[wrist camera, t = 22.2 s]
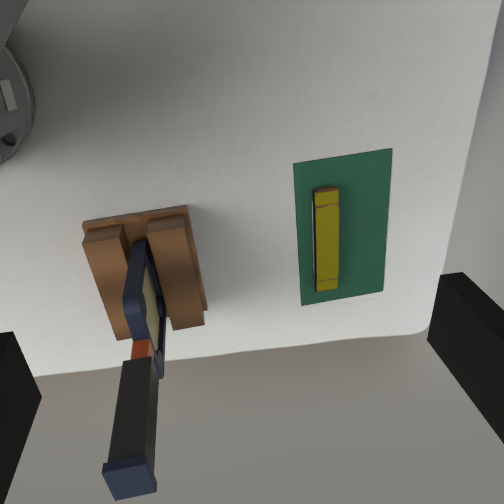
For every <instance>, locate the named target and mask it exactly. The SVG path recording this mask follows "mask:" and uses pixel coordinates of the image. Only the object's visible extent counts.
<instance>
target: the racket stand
mask: <svg viewBox="0 0 504 504" xmlns="http://www.w3.org/2000/svg"><path fill="white" fill-rule="evenodd" d="M82 228H83V231H84V233H85V237H84V240H83V242H82V246H83V249H84V251H85V254H86V257H87V260H88V262H89V265H90V268H91V271H92V273H93V276H94V279H95V282H96V284H97V287H98V290H99V293H100V296H101V298H102V301H103V304H104V307H105V309H106V312H107V315H108V318H109V320H110V323H111V326H112V329H113V331H114V334H115V337H116V340H117V341H118V340H124V339H129V338H132V336H131V333H130V330H129V328H128V325H127V322H126V319H125V316H124V312H123V306H122V295H123V290H124V285H125V280H126V274H127V269H128V264H129V259H130V253H131V248H132V243H133V242H136V241H143V240H148V242H149V245H150V249H151V252H152V256H153V260H154V264H155V267H156V271H157V275H158V279H159V282H160V286H161V290H162V294H163V297H164V301H165V307H166V318H167V317H170V321H171V324H172V328H173V331H174V330H180V329H185V328H191V327H196V326H202V325H205V322H204V311H206V310H208V309H207V302H206V297H205V292H204V287H203V282H202V277H201V272H200V267H199V262H198V257H197V253H196V248H195V243H194V238H193V233H192V228H191V223H190V218H189V213H188V208H187V205H183V206H177V207H171V208H165V209H158V210H152V211H146V212H140V213H133V214H127V215H121V216H114V217H108V218H102V219H96V220H89V221H84V222H83V224H82Z"/></svg>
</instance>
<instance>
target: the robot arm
mask: <svg viewBox="0 0 504 504" xmlns="http://www.w3.org/2000/svg"><path fill="white" fill-rule="evenodd" d="M27 2H28V0H0V164H1V163H3V162H5V161H6V160H7V159H9V158H10V157H11V156H12V155H13V154H14V153H15V152H16V151H18V150H19V148H20V147H21V146H22V145H23V144H24V142H25V140H26V139H27V137H28V135H29V133H30V130H31V127H32V124H33V119H34V97H33V92H32V87H31V84H30V81H29V78H28V76H27V73H26V71H25V69H24V67H23V65H22V63H21V61H20V60H19V58H18V57H17V55H16V54H15V52H14V51H13V49H12V48H11V47H10V46H9V44H8V43H7V40H8V38H9V36H10V34H11V32H12V30H13V29H14V27H15V25H16V23H17V21H18V19H19V17H20V15H21V13H22V11H23V10H24V8H25V6H26V4H27ZM427 341H428V342H429V343H430V345H431V346H432V348H433V349H434V350H435V352H436V353H437V354H438V356H439V357H440V358H441V360H442V361H443V362H444V364H445V365H446V366H447V368H448V369H449V370H450V372H451V373H452V374H453V376H454V377H455V379H456V380H457V381H458V383H459V384H460V385H461V387H462V388H463V389H464V391H465V392H466V393H467V395H468V396H469V397H470V399H471V400H472V402H473V403H474V404H475V406H476V407H477V408H478V410H479V411H480V412H481V414H482V415H483V416H484V418H485V419H486V420H487V422H488V423H489V424H490V426H491V427H492V429H493V430H494V431H495V433H496V434H497V435H498V436H499V438H500V439H501V441H502V442H503V443H504V310H503V309H502V308H500V307H499V306H498V305H497V304H496V303H495V302H494V301H493V300H492V299H491V298H490V297H489V296H488V295H487V294H486V293H485V292H483V291H482V290H481V289H480V288H479V287H478V286H477V285H476V284H475V283H474V282H473V281H472V280H471V279H469V277H467V276H466V275H465V274H464V273H463V272H460V273H451V274H444V275H440V278H439V283H438V288H437V293H436V298H435V303H434V308H433V312H432V317H431V322H430V327H429V332H428V337H427ZM41 398H42V396H41V394H40V391H39V389H38V387H37V385H36V383H35V380H34V378H33V376H32V373H31V371H30V369H29V367H28V364H27V362H26V360H25V358H24V355H23V353H22V351H21V348H20V346H19V344H18V342H17V339H16V337H15V335H14V333H13V331H12V332H5V333H0V504H4V502H5V499H6V496H7V494H8V490H9V488H10V485H11V482H12V480H13V477H14V474H15V471H16V468H17V465H18V463H19V460H20V457H21V454H22V451H23V449H24V446H25V443H26V440H27V437H28V435H29V431H30V429H31V426H32V423H33V420H34V417H35V415H36V412H37V409H38V406H39V404H40V401H41Z"/></svg>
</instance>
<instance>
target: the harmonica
mask: <svg viewBox="0 0 504 504" xmlns="http://www.w3.org/2000/svg"><path fill="white" fill-rule="evenodd" d="M312 197H313V201H312V229H313V267H314V279H315V292H322V291H328V290H334V289H338V266H339V204H338V202H339V189H338V188H337V187H336V186H332V187H325V188H318V189H313V192H312Z"/></svg>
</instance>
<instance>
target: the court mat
mask: <svg viewBox="0 0 504 504" xmlns="http://www.w3.org/2000/svg"><path fill="white" fill-rule="evenodd" d="M391 161H392V148H391V149H384V150H378V151H372V152H365V153H359V154H352V155H346V156H339V157H333V158H326V159H320V160H314V161H307V162H301V163H294V164H293V169H294V186H295V204H296V221H297V238H298V256H299V273H300V290H301V306H304V305H309V304H315V303H320V302H326V301H331V300H337V299H342V298H348V297H353V296H359V295H364V294H370V293H375V292H381V291H383V281H384V266H385V251H386V236H387V221H388V206H389V191H390V176H391ZM332 186H336V187H337V188H338V189H339V202H338V204H339V266H338V289H334V290H328V291H322V292H315V279H314V267H313V229H312V201H313V197H312V192H313V189H318V188H325V187H332Z"/></svg>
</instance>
